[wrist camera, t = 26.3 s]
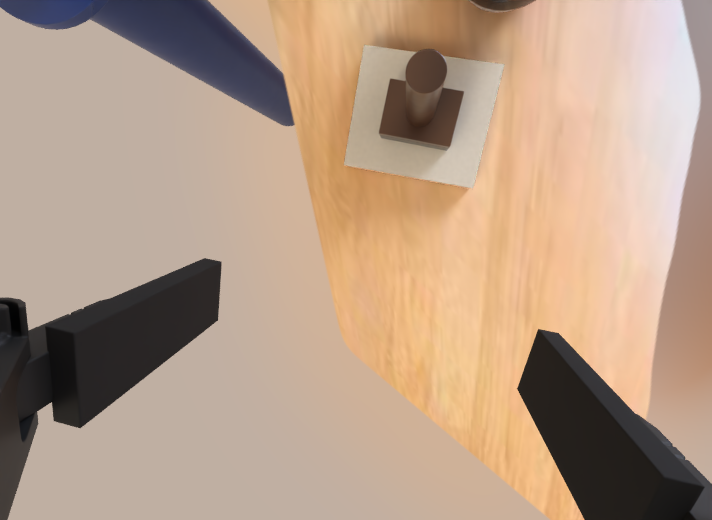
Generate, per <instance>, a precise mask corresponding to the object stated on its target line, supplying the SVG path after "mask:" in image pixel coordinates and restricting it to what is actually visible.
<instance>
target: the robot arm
mask: <svg viewBox="0 0 712 520" xmlns="http://www.w3.org/2000/svg"><path fill="white" fill-rule="evenodd" d="M220 278H221V262H220V261H215V260H210V259H206V258H205V259H202V260H200V261H197V262H195V263H192V264H190V265H188V266H185V267H183V268H181V269H178V270H176V271H174V272H171V273H169V274H167V275H165V276H162V277H160V278H158V279H155V280H152V281H150V282H148V283H146V284H143V285H141V286H138V287H136V288H134V289H131V290H129V291H127V292H124V293H122V294H120V295H117V296H115V297H113V298H110V299H106V300H102V301H98V302H96V303H94V304H91V305H89V306H86V307H84V309H79V310H77V311H74V312H72V313H71V315H69V314H67V315H65V316H62V317H60V318H58V319H55V320H53V321H50V322H48V323H46V324H43V325H41V326H39V327H36V328H34V329H31V330H29V331H28V324H27V314H26V305H25V302H23V301H22V300H20V299H13V298H0V520H7V519H8V516H9V513H10V509H11V506H12V503H13V500H14V497H15V494H16V491H17V488H18V485H19V482H20V478H21V475H22V472H23V469H24V466H25V463H26V460H27V457H28V453H29V450H30V447H31V444H32V441H33V438H34V435H35V432H36V429H37V425H38V415H37V411H38V410H40V409H42V408H43V407H45V406H46V405H48V404H49V403H51V402H52V406H53V417H54V421H56V422H59V423H64V424H67V425H70V426H74V427H78V428H81V427H82V426H84V425H85V424H86V423H87V422H89V421H90V420H91V419H93V418H94V417H95V416H96V415H98V414H99V413H100V412H102V411H103V410H104V409H105V408H107V407H108V406H109V405H110V404H112V403H113V402H114V401H115V400H116V399H118V398H119V397H121V396H122V395H123V394H125V393H126V392H127V391H128V390H130V388H132V387H133V386H135V385H136V384H137V383H139V382H140V381H141V380H142V379H144V378H145V377H146V376H147V375H149V374H150V373H151V372H152V371H154V370H155V369H156V368H158V367H159V366H160V365H161V364H163V363H164V362H165V361H167V360H168V359H169V358H170V357H172V356H173V355H174V354H175V353H177V352H178V351H179V350H180V349H182V348H183V347H184V346H186V345H187V344H188V343H189V342H191V341H192V340H193V339H195V338H196V337H197V336H198V335H200V334H201V333H202V332H204V331H205V330H206V329H207V328H209V327H210V326H211V325H212V324H214V323H215V322H216V321H218V309H219V294H220ZM517 389H518V391H519V393H520V395H521V397H522V399H523V401H524V403H525V405H526V407H527V409H528V411H529V413H530V415H531V416H532V418H533V420H534V422H535V424H536V426H537V428H538V430H539V432H540V434H541V436H542V438H543V440H544V442H545V444H546V446H547V447H548V449H549V451H550V453H551V455H552V457H553V459H554V461H555V463H556V465H557V467H558V469H559V471H560V473H561V475H562V477H563V479H564V480H565V482H566V484H567V486H568V488H569V490H570V492H571V494H572V496H573V498H574V500H575V502H576V504H577V506H578V508H579V510H580V511H581V513H582V515H583V517H584V519H585V520H712V484H711V483H710V482H709V481H708V480H707V479H706V478H705V477H704V476H703V475H702V474H701V473H700V472H699V471H698V470H697V469H696V468H695V467H694V466H693V465H692V464H691V463H690V462H689V461H688V460H685V456H684V455H683V454H682V453H681V452H680V451H679V450H677V448H676V447H673V446H672V443H671V442H670V441H669V440H668V439H667V438H666V437H665V436H664V435H663V434H662V433H661V432H660V431H659V430H658V429H657V428H655V427H654V426H653V425H651V424H650V423H648V422H647V421H646V420H644V419H643V418H642V417H640V416H639V415H637V414H635V413H634V412H633V411H632V410H631V409H630V408H629V407H628V406H627V405H626V404H625V403H624V401H623V400H622V399H621V398H620V397H619V396H618V395H617V394H616V393H615V392H614V391H613V390H612V389H611V388H610V387H609V386H608V385H607V384H606V383H605V382H604V380H603V379H602V378H601V377H600V376H599V375H598V374H597V373H596V372H595V371H594V370H593V369H592V368H591V367H590V366H589V365H588V364H587V363H586V362H585V361H584V359H583V358H582V357H581V356H580V355H579V354H578V353H577V352H576V351H575V350H574V349H573V348H572V347H571V346H570V345H569V344H568V343H567V342H566V341H565V339H564V338H563V337H562V336H561V335H560V334H559V333H555V332H550V331H545V330H540V329H538V332H537V334H536V337H535V340H534V343H533V346H532V349H531V351H530V354H529V357H528V360H527V363H526V366H525V368H524V371H523V374H522V377H521V380H520V383H519V386H518V388H517Z"/></svg>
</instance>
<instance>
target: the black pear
mask: <svg viewBox="0 0 712 520" xmlns="http://www.w3.org/2000/svg"><path fill="white" fill-rule="evenodd" d="M469 1H470V2H471V3H472V4H473V5H475V6H476V7H478V8H480V9H482V10H485V11H488V12H496V13H500V12H508V11H512V10H515V9H518V8H521V7H524V6H526V5H528V4H530V3H532V2H534V1H536V0H469Z"/></svg>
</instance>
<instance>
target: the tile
mask: <svg viewBox="0 0 712 520" xmlns="http://www.w3.org/2000/svg"><path fill="white" fill-rule="evenodd" d="M415 53H417V52H412V51H405V50H398V49H391V48H384V47H376V46H369V45H364V48H363V54H362V60H361V66H360V72H359V78H358V83H357V89H356V95H355V101H354V107H353V113H352V119H351V125H350V131H349V137H348V143H347V149H346V155H345V160H344V165H345V166H347V167H352V168H358V169H363V170H369V171H374V172H380V173H385V174H391V175H396V176H402V177H407V178H413V179H418V180H424V181H429V182H435V183H440V184H446V185H451V186H457V187H462V188H468V189H472V188H473V187H474V183H475V179H476V175H477V171H478V167H479V163H480V159H481V155H482V151H483V147H484V143H485V139H486V135H487V131H488V127H489V124H490V120H491V116H492V112H493V108H494V104H495V100H496V96H497V92H498V88H499V84H500V80H501V76H502V72H503V68H504V64H498V63H491V62H484V61H477V60H470V59H463V58H455V57H448V56H443V57H444V58H445V60H446V63H447V76H446V79H445V82H444V85H443V88H448V89H454V90H460V91H464V95H463V99H462V103H461V107H460V111H459V115H458V118H457V122H456V126H455V130H454V134H453V138H452V142H451V146H450V147H449V149H448V150H447V151H445V150H439V149H434V148H429V147H424V146H419V145H414V144H409V143H404V142H399V141H393V140H388V139H383V138H381V137H380V135H379V129H380V124H381V119H382V114H383V110H384V105H385V100H386V95H387V90H388V86H389V81H390V78H391V79H397V80H403V81H406V78H405V71H406V66H407V63H408V61H409V60H410V58H411V57H412V56H413V55H414V54H415Z"/></svg>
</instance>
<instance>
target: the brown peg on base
mask: <svg viewBox="0 0 712 520" xmlns="http://www.w3.org/2000/svg"><path fill="white" fill-rule="evenodd" d="M446 76H447V63H446V60H445V58H444V57H443V55H442V54H441V53H439V52H438V51H436V50H433V49H423V50H420V51H418V52H417V53H415V54H414V55H413V56H412V57H411V58H410V60H409V61H408V63H407V66H406V71H405V78H406V81H403V80H397V79H391V78H390V81H389V86H388V90H387V95H386V100H385V105H384V110H383V114H382V119H381V124H380V129H379V135H380V137H381V138H383V139H388V140H393V141H399V142H404V143H409V144H414V145H419V146H424V147H429V148H434V149H439V150H445V151H447V150H448V149H449V147H450V146H451V142H452V138H453V134H454V130H455V126H456V122H457V118H458V115H459V111H460V107H461V103H462V99H463V95H464V91H460V90H454V89H448V88H443V85H444V82H445V79H446Z"/></svg>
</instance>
